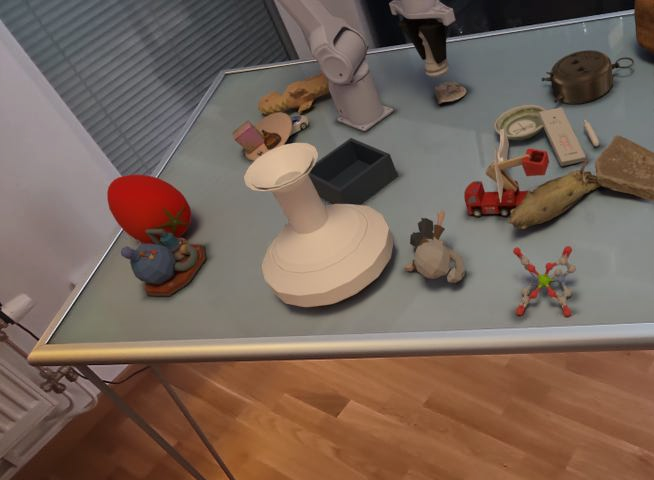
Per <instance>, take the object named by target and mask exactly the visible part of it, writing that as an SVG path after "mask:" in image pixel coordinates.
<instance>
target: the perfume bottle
mask: <svg viewBox="0 0 654 480" xmlns="http://www.w3.org/2000/svg"><path fill="white" fill-rule="evenodd" d="M291 129H292V120H291V116H290V115H289V114H288V113H285V112H278V113H273V114H270V115H266V116H264V117H263V118H262V119H261V120H259V121H258V122H257V123H256V124H255V125H254V124H253V123H252V122H251V121H249V120H246V121H245V122H244V123H243V124H242V125H240V126H239V127H238V128H236V129H235V130H234V131H232V132H231V133H232V134H231V135H232V137H233V140H234V141H235V142H236V143H237V144H238V145H239V146H241V148H242V149H243V153H244V155H245V157H246V158H247V159H248V161H251V162H254V161H255V160H256V159H257V158H259V157H260V156H262V155H263V154H265V153H266V152H268V151H270V150H272V149H275V148H277V147H279V146H282V145H286V142H287V141H288V139H289V137H290V136H291V135H290V133H291ZM289 135H290V136H289Z"/></svg>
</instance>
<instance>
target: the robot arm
mask: <svg viewBox="0 0 654 480" xmlns="http://www.w3.org/2000/svg"><path fill="white" fill-rule="evenodd" d="M276 1H277V2H278V3H279V4H280V6H281V7H282V8H283V9H284V10H285V12H287V14H288V15H289V16H290V17H291V19H292V20H294V22H295V23H296V24H297V25H298V26H299V27H300V29H301V30H302V31H303V32H304V33H305V34H306V36H307V37H308V39H309V44H310V53H311V56H312V57H313V58H314V60H315V61H316V62H317V63H318V66H319V68H320V71H322V73H323V74H324V76H325V77H326V78H327V79H328V80H329V91H330V93H329V94H330V95H331V98H332V100H333V102H334V105H335V107H336V110H337V112H338V114H339V116H338V117H337V119H336V120H337V122H339V123H342V124H344V125H346V126H349V127H352V128H354V129H357V130H359V131H361V132H366V131H368V130H369V129H370V128H372V127H374V126H375V125H377V124H378V123H379V122H381V121H383V119H385V118H386V117H388V116H389V115H390V114H392V113H393V112H394V109H393V108H392V107H389V106H387V105H383V103H382V100H381V97H380V95H379V92H378V89H377V86H376V84H375V81H374V77H373V75H372V72H371V70H370V67H369V64H368V61H367V58H366V56H367V54H368V43H367V41H366V39H365V37H364V36H363V34H362V33H361V32H359V31H358V30H357V29H354V28H353V27H352V26H350V25H349V24H348V23H347V22H346V20H345V19H344V18H341V17H337V16H334V15H331V14H330V13H329V11H328V10H327V9H326V7H325V6H324V5H323V4H322V3H321V1H319V0H276ZM388 5H389V9H390V12H391V15H393V16H397V15H399V14H400V15H402V20H400V21H399V22H398V27H399V29H400V30H401V31H403V33H404V34H405V35H406V36H407V37H408V39H409V40H410V42H411V43H412V45H413V47H414V48H415V50H416V51H417V53H418V55H419V57H420V58H421V60H423V61H426V53H425V48H424V45H423V44H422V42H423V40H422V38H420V37H419V32H421V33H422V34H423V35H424V37H425V39H426V40H427V42H428V44H429V46H430V49H431V52H432V55H433V58H434V60H435V62H436V63H437V64H440V63H441V62H443V61H444V60H446V59H447V38H448V30H449V26H450V25H451V24H452V23H454V22H455V21H456V16H455V11H454V9H453V8H452V7H449V6H447V5H445V4H444V3H443V2H441V1H440V0H392V1H390V2H389V3H388ZM419 30H420V31H419Z"/></svg>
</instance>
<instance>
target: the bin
mask: <svg viewBox="0 0 654 480" xmlns="http://www.w3.org/2000/svg"><path fill="white" fill-rule="evenodd" d="M308 175H309V177H310V179H311V181H312V183H313V185H314V187H315V189H316V191H317V193H318V195H319V197H320V199H323V200H324V201H326V202H328V203H331V205H333V204H353V205H363V204H364V203H365V202H366V201H368V200H369V199H370V198H372V197H373V196H374V195H375V194H377V193H378V192H379V191H381V190H383V188H385V187H386V186H387V185H389V184H391V182H393V180H395V179H396V178H398V177H399V175H398V172H397V170H396V166H395V164H394V161H393V159H392V156H391V154H390V153H389V152H386V151H383V150H381V149H379V148H376V147H374V146H372V145H369V144H367V143H364V142H362V141H360V140H358V139H355V138H353V137H350V138H349V139H347V140H346V141H344V142H343V143H341V144H340V145H339V146H337V147H336V148H334V149H333V150H331V151H330V152H329V153H327V154H325V156H322V158H320V159H319V160H318V161H316V163H315V165H314V166H313V168H312V170H311V171H310V173H309V174H308Z"/></svg>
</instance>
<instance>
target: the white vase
mask: <svg viewBox="0 0 654 480" xmlns="http://www.w3.org/2000/svg"><path fill="white" fill-rule="evenodd" d="M318 156H319V153H318V151H317V149H316V147H315V146H314V145H312V144H310V143H308V142H292V143H287V144H286V143H285V144H284V145H282V146H279V147H277V148H275V149H272V150H270V151H268V152H266V153H265V154H263V155H262V156H260V157H259V158H257V159H256V160H255V161H252V163H251V164H250V165H249V167H248V168H247V170H246V172H245V174H244V175H243V178H244V183H245V186H246V187H248V188H249V189H250V190H252V191H258V192H270V193H272V194H273V196H274V198H275V200H276V202H277V203H278V205H279V207H280V208H281V210H282V212H283V214H284V215H285V217H286V219H287V221H288V223H287V224H285V226H283V228H282V229H281V230H280V231H279V233H278V234H277V235H276V236H275V237H274V239H273V241H272V242H271V243H270V245H269V246H268V248H267V250H266V252H265V255H264V257H263V259H262V264H261V270H262V274H263V277H264V282H265V283H266V285H267V286H268V288H269V289H270V290H271V292H272V293H273V294H274V295H275V296H276V297H277V298H278V299H280V301H282V302H283V303H284V304H286V305H293V306H297V307H303V308H311V307H319V306H327V305H333V304H337V303H340V302H342V301H344V300H346V299H349V298H351V297H353V296H355V295H357V294H359V292H361V291H362V290H363V289H365V288H366V287H367V286H369V285H371V283H373V282H374V281H375V280H376V279H378V278H379V277H380V276H381V273H382V272H383V271H384V269H385V267H386V266H387V265H388V263H389V261H390V260H391V259H392V253H393V248H394V244H395V239H394V236H393V234H392V231H391V230H390V227H389V226H388V224H387V222H386V219H385V218H384V216H383V214H382V213H380V212H379V211H377V210H376V209H373V208H372V207H370V206H369V205H363V204H361V205H353V204H326V205H325V204H324V203H323V201H322V198H321V197H319V195H318V193H317V191H316V189H315V187H314V185H313V183H312V181H311V179H310V177H309V175H308V174H309V173H310V171H311V170H312V168H313V166H314V165H315V163H316V162H317V159H318V158H319V157H318Z"/></svg>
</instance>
